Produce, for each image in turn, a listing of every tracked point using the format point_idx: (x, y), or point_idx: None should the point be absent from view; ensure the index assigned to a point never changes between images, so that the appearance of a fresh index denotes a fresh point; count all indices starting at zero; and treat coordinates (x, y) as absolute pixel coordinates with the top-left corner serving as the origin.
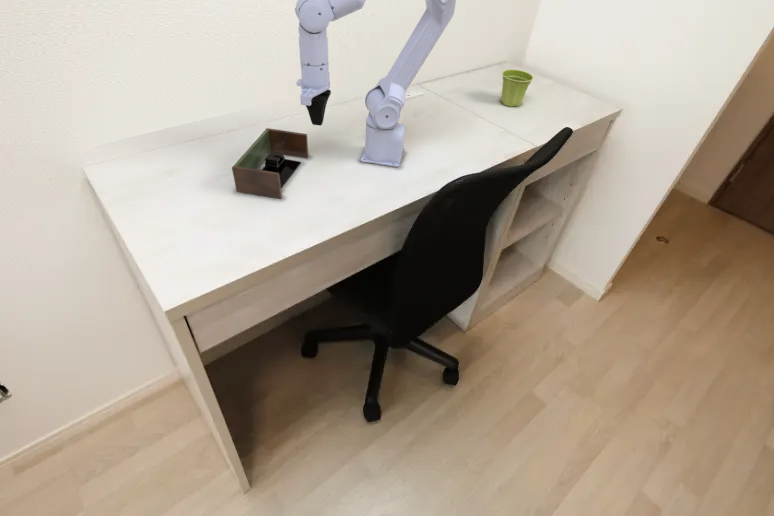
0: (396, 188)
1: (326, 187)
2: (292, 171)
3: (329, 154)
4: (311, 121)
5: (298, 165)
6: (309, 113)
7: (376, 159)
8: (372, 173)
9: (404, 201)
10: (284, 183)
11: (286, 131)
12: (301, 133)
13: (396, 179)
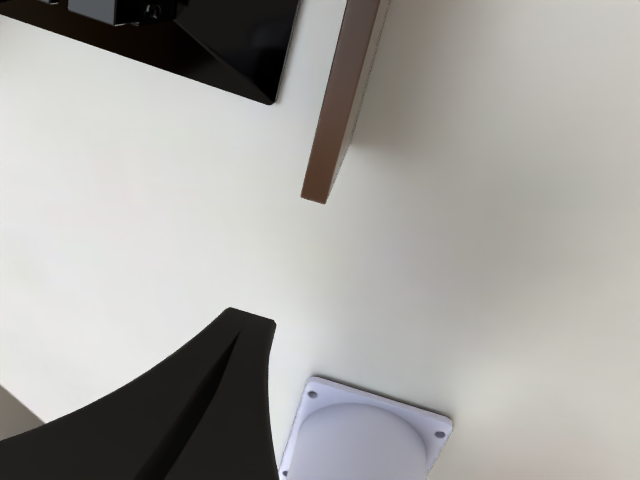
0: None
1: (84, 228)
2: (162, 63)
3: (381, 254)
4: (218, 317)
5: (235, 93)
6: (164, 362)
7: (297, 437)
8: None
9: None
10: (42, 27)
11: (362, 30)
12: (331, 163)
13: None
